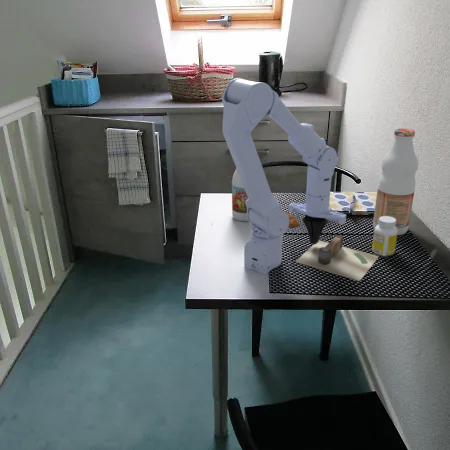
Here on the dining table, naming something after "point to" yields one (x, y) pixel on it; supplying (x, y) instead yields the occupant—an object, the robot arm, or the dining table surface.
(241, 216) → the milk bottle
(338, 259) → the dial board
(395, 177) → the fruit juice
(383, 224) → the supplement bottle
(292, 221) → the pastry
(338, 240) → the pointer lever
